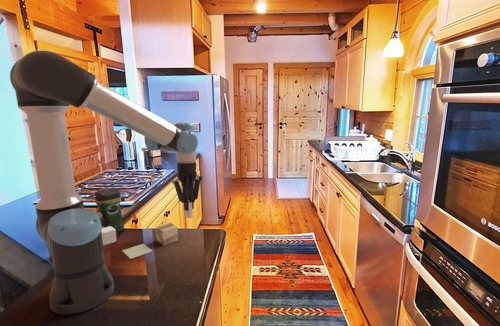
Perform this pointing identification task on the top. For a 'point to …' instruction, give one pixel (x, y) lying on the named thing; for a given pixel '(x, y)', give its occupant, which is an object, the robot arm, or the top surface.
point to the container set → (108, 235)
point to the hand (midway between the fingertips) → (189, 217)
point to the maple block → (167, 234)
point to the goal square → (137, 251)
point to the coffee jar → (109, 208)
